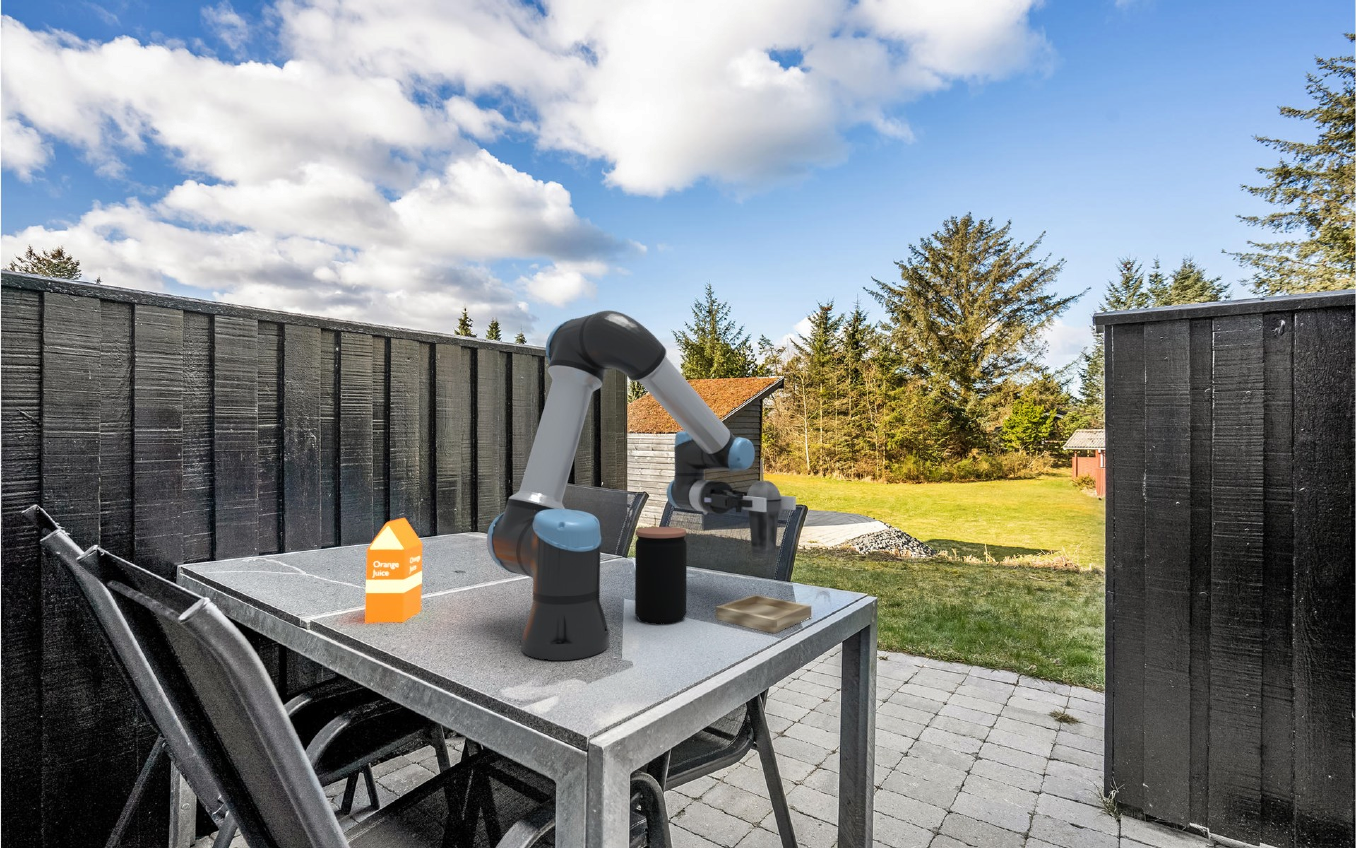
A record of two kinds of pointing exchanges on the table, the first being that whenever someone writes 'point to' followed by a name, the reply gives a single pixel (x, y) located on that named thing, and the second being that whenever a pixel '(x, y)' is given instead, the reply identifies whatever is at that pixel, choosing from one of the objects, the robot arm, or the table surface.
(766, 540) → the beverage cup
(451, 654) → the table surface
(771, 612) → the tray
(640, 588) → the coffee jar
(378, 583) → the orange juice
